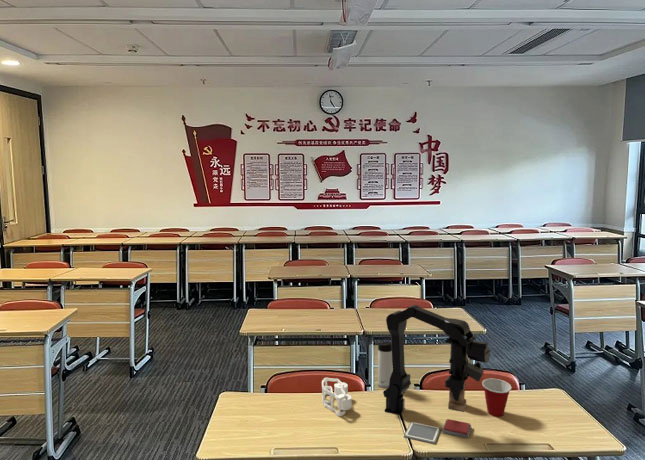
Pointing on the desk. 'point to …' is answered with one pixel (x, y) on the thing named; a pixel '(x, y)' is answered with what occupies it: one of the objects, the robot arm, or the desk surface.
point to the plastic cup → (496, 395)
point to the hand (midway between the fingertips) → (457, 398)
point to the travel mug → (384, 364)
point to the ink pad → (457, 428)
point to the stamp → (457, 402)
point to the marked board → (422, 432)
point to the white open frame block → (336, 396)
